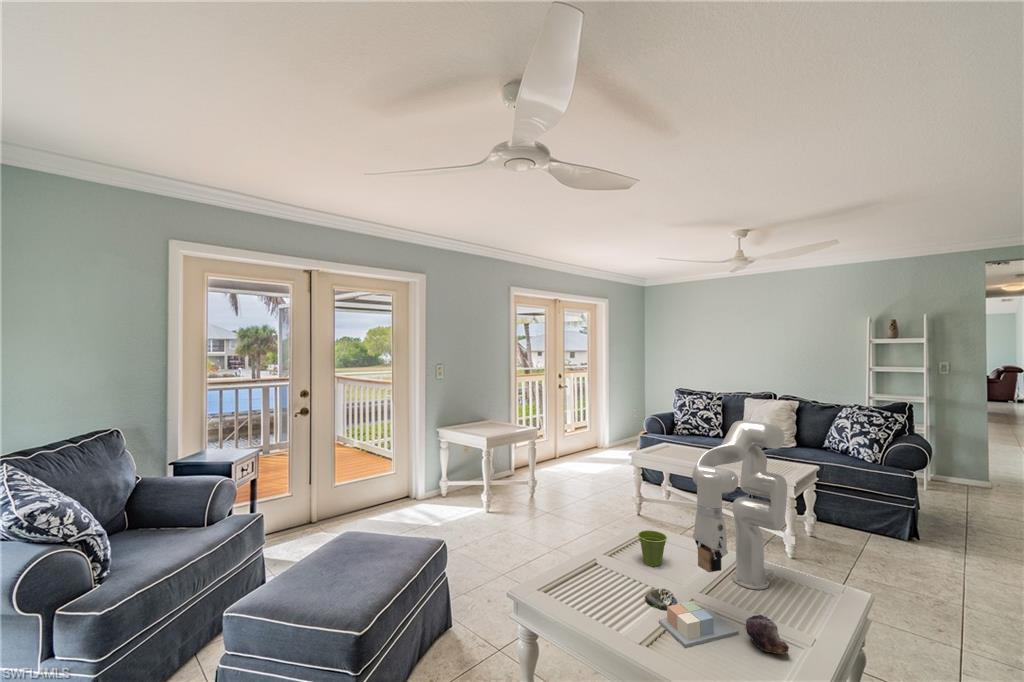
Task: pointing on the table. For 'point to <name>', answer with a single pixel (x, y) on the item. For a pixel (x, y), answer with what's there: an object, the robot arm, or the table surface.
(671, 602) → the grey oval shell
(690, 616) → the cream block
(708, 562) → the walnut block
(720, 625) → the assembly board
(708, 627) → the blue block
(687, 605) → the sage block
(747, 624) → the rock
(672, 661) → the table surface
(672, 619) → the terracotta block
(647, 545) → the plant pot
